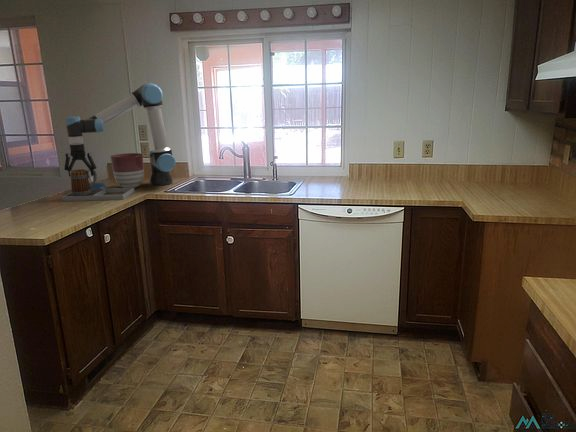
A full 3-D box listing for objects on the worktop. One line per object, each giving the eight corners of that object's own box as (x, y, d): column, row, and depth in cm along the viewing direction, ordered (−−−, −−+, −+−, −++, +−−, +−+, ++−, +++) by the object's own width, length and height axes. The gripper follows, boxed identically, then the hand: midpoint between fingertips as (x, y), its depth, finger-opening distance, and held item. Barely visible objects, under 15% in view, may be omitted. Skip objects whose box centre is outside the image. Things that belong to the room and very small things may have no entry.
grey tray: (135, 191, 267) (133, 182, 265) (123, 199, 246) (122, 189, 244) (78, 193, 266) (77, 183, 264) (62, 201, 245) (60, 190, 243)
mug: (77, 198, 246) (74, 172, 242) (68, 195, 252) (64, 170, 248) (102, 193, 258) (99, 169, 254) (93, 191, 264) (90, 167, 260)
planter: (134, 191, 266) (130, 157, 261) (108, 190, 272) (103, 156, 266) (152, 185, 284) (148, 153, 279) (127, 184, 290) (123, 153, 284)
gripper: (99, 142, 251) (104, 179, 257) (59, 143, 250) (66, 180, 256) (93, 144, 244) (99, 182, 250) (53, 145, 243) (60, 183, 249)
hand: (82, 181), depth 253 cm, fingers closed on mug, 10 cm apart
